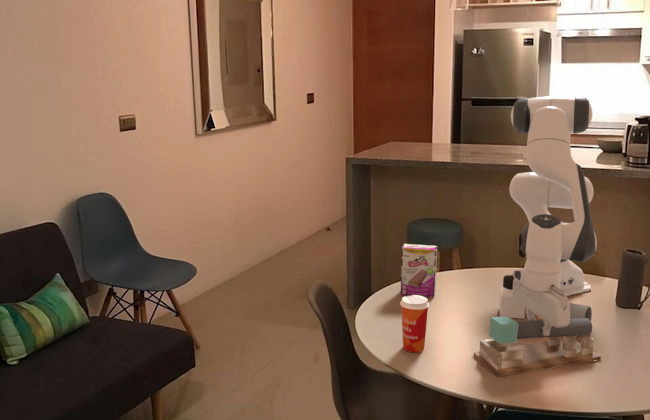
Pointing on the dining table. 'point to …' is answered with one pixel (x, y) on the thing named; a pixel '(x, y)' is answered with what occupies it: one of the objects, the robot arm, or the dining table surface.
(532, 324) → the grey and teal rod
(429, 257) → the candy bar box
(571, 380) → the dining table surface
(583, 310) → the ceramic mug
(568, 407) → the dining table surface
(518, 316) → the medicine bottle
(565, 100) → the robot arm
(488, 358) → the wooden cradle
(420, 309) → the paper cup
